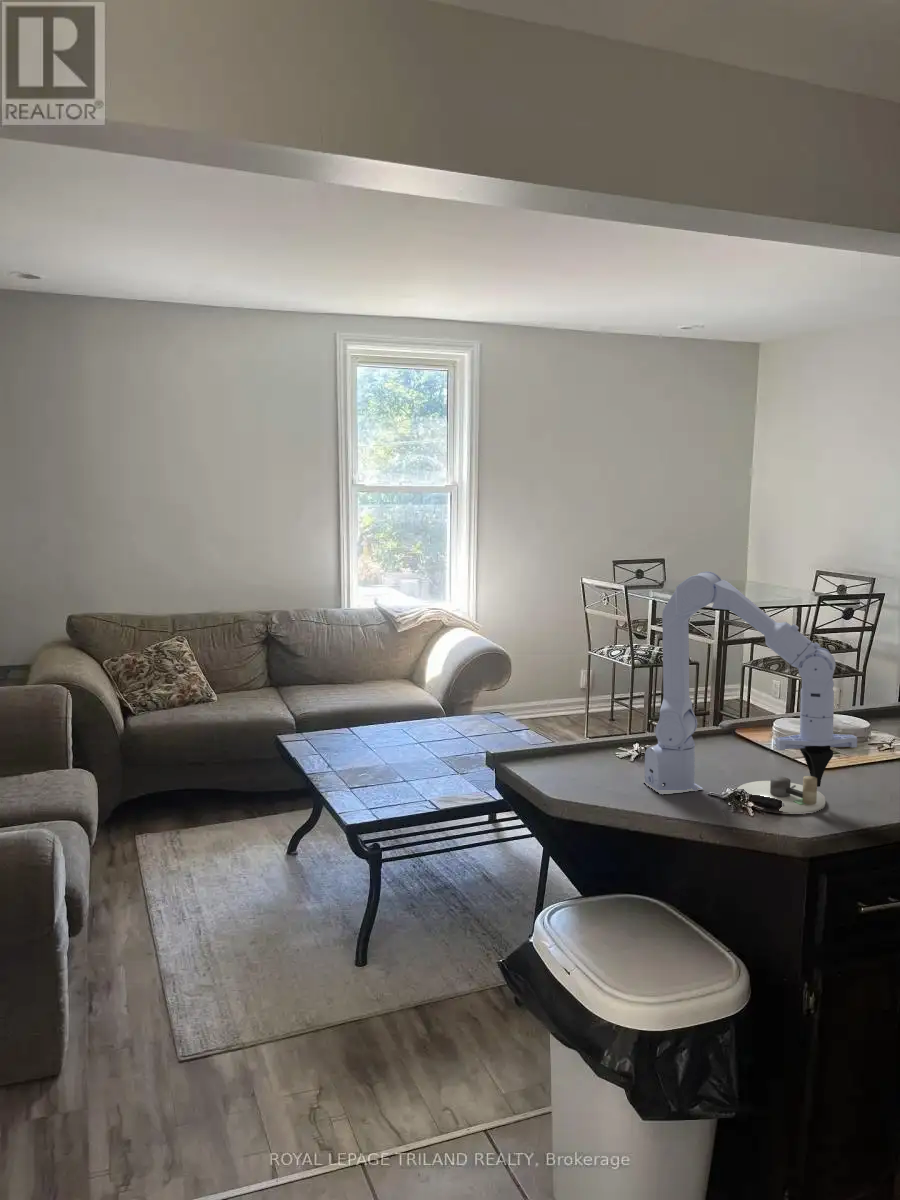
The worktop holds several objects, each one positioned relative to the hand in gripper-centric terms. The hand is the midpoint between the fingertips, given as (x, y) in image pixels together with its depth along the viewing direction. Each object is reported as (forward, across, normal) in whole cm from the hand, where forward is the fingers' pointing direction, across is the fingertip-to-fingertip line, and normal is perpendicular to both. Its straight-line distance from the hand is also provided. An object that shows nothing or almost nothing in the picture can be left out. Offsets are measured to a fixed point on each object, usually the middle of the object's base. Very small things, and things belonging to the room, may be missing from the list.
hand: (815, 785), depth 162 cm
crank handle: (+3, +4, -1) cm, 5 cm away
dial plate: (+4, +5, -4) cm, 8 cm away
